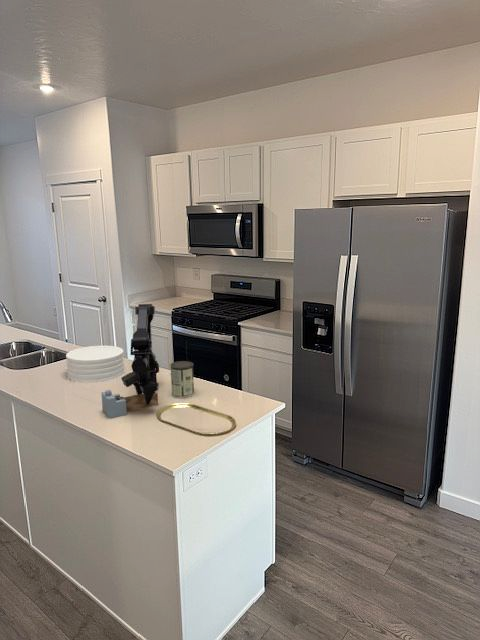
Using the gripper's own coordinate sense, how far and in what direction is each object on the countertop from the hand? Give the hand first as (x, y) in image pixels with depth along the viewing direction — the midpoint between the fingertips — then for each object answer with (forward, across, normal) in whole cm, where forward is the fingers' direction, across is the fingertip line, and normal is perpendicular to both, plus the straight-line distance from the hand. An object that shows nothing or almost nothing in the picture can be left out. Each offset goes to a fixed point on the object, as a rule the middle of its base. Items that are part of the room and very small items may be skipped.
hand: (143, 401), depth 186 cm
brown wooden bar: (+2, 0, -2) cm, 3 cm away
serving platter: (+3, +24, +12) cm, 27 cm away
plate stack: (+3, -55, -5) cm, 55 cm away
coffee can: (+2, -4, +20) cm, 21 cm away
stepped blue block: (+2, 0, -13) cm, 13 cm away
